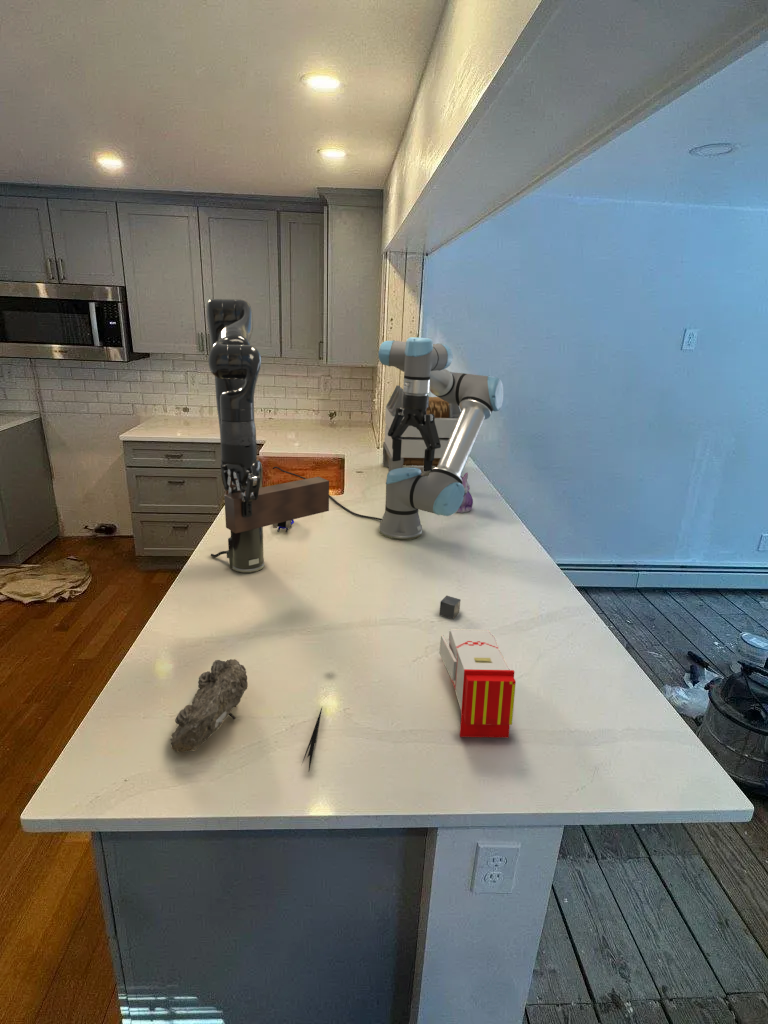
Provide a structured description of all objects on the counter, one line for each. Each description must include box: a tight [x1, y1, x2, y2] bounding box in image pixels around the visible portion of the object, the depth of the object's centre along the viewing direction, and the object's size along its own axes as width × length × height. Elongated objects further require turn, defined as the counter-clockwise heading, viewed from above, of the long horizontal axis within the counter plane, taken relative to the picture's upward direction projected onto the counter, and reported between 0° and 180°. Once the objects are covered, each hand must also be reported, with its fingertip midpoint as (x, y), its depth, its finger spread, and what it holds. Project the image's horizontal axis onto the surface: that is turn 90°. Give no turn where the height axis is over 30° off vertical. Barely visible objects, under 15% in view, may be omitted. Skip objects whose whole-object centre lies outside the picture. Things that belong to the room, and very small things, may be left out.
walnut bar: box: [223, 476, 330, 533], centre depth 135 cm, size 26×4×8 cm, turn 132°
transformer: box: [381, 384, 461, 472], centre depth 268 cm, size 34×33×41 cm
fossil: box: [170, 658, 249, 753], centre depth 106 cm, size 22×10×15 cm
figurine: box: [455, 472, 474, 514], centre depth 225 cm, size 9×10×15 cm
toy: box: [438, 628, 517, 738], centre depth 117 cm, size 12×13×30 cm
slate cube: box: [439, 595, 461, 620], centre depth 148 cm, size 4×4×4 cm
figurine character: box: [272, 519, 295, 533], centre depth 200 cm, size 7×8×15 cm
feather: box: [301, 673, 332, 771], centre depth 108 cm, size 2×28×2 cm
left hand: (241, 513), depth 129 cm, fingers closed on walnut bar, 4 cm apart
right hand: (411, 465), depth 170 cm, fingers open, 13 cm apart
